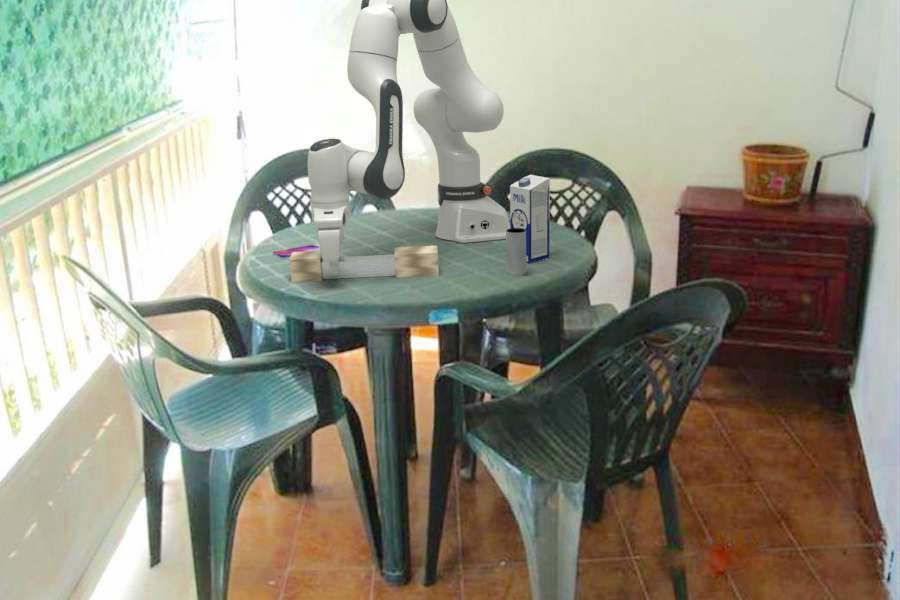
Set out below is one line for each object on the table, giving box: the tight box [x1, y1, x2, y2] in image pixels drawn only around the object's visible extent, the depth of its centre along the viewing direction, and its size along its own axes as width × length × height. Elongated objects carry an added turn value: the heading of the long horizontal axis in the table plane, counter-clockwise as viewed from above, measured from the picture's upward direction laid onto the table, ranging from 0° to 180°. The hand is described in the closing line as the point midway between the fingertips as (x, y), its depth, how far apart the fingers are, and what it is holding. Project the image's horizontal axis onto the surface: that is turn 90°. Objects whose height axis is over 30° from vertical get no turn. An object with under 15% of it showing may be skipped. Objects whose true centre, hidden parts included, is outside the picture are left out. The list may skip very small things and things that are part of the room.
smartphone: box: [272, 243, 320, 260], centre depth 219 cm, size 7×1×15 cm
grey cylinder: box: [505, 228, 527, 276], centre depth 194 cm, size 4×4×10 cm
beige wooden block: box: [288, 251, 323, 283], centre depth 196 cm, size 7×6×6 cm
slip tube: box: [321, 254, 396, 280], centre depth 197 cm, size 26×4×4 cm, turn 94°
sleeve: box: [393, 245, 440, 278], centre depth 197 cm, size 10×6×6 cm, turn 94°
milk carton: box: [509, 174, 551, 264], centre depth 204 cm, size 7×7×20 cm
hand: (335, 269), depth 196 cm, fingers closed on slip tube, 4 cm apart
